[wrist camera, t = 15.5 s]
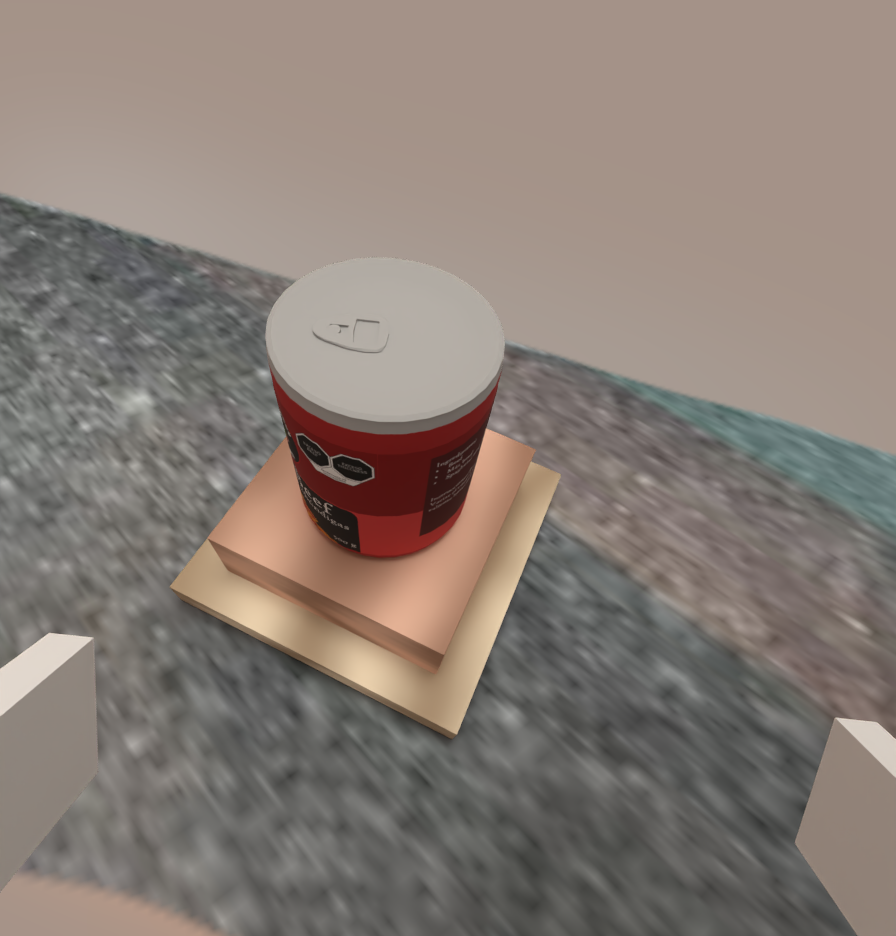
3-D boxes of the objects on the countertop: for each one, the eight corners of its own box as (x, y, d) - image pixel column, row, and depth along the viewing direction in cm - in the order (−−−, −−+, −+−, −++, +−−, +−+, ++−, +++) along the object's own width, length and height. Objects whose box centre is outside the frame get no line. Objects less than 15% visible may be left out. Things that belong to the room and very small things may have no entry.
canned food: (294, 440, 29) (254, 262, 19) (444, 419, 30) (472, 246, 21) (313, 579, 25) (273, 440, 16) (482, 546, 27) (538, 403, 17)
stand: (552, 490, 36) (581, 437, 31) (452, 739, 27) (468, 723, 22) (335, 396, 38) (328, 331, 33) (181, 599, 30) (140, 555, 25)
